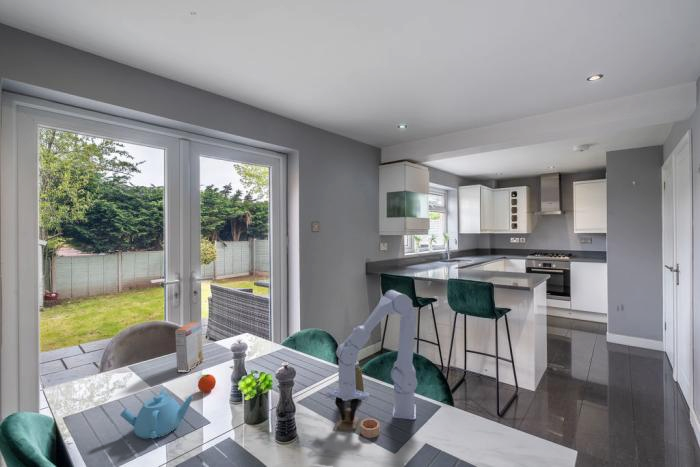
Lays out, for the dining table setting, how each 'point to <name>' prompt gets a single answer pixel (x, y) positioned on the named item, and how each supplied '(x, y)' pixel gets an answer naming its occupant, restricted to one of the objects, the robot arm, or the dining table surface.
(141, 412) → the teapot
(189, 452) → the dining table surface
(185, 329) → the cracker box
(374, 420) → the bowl
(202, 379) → the clementine
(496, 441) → the dining table surface
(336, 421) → the coaster
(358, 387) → the squeeze bottle
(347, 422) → the lid
